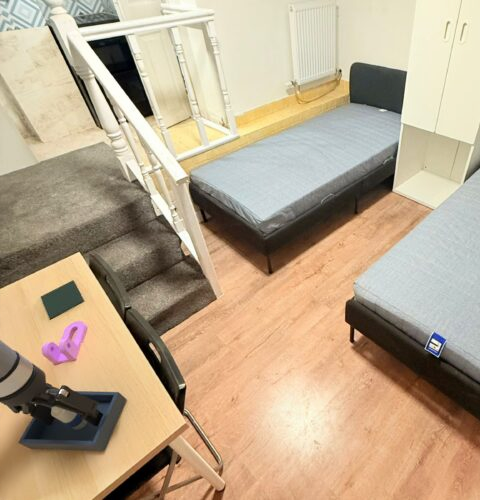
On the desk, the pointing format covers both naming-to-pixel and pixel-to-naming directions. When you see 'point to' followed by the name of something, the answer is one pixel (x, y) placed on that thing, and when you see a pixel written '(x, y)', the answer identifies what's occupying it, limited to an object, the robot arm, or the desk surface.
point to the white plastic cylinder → (68, 418)
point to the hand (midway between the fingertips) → (75, 419)
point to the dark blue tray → (71, 439)
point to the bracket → (66, 344)
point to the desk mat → (62, 299)
